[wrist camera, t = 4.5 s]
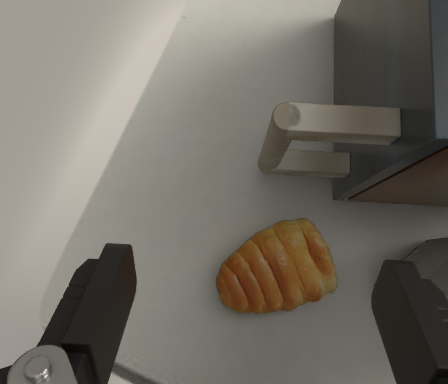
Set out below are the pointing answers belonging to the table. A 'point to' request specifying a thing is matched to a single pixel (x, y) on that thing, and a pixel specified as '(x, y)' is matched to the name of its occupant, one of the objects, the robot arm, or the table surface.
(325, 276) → the pastry
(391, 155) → the door
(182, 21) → the table surface
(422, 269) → the cosmetic box
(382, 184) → the cupboard
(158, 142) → the table surface
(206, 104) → the table surface
